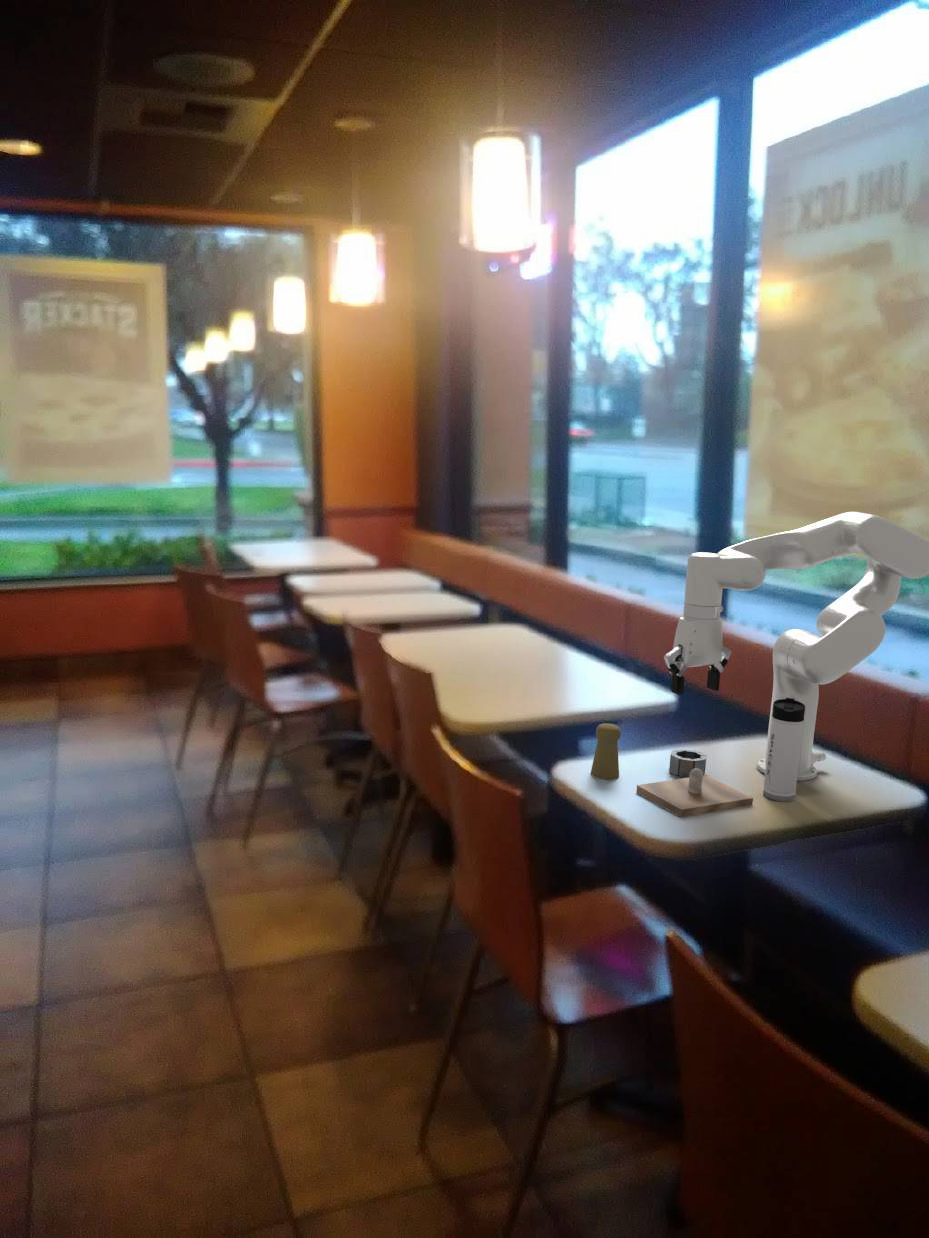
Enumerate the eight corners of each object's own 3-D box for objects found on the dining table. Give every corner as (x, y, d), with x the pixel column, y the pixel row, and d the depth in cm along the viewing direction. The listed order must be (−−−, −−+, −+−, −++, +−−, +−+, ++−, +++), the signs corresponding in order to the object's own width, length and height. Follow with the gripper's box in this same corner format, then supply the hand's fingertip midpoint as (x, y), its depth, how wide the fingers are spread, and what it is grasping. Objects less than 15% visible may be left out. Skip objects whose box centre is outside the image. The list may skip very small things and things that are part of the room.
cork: (618, 781, 213) (622, 730, 211) (589, 777, 214) (593, 727, 212) (620, 771, 219) (624, 722, 217) (591, 768, 220) (595, 719, 218)
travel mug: (795, 793, 211) (806, 699, 207) (794, 803, 205) (805, 707, 201) (763, 788, 213) (774, 695, 209) (762, 798, 207) (772, 703, 203)
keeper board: (705, 781, 215) (708, 753, 214) (752, 804, 203) (755, 774, 202) (636, 792, 207) (639, 762, 206) (681, 817, 195) (684, 785, 194)
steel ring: (689, 765, 226) (690, 747, 225) (711, 776, 219) (713, 758, 218) (662, 769, 222) (664, 751, 221) (684, 780, 216) (686, 762, 215)
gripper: (721, 606, 221) (714, 683, 224) (657, 611, 213) (651, 690, 216) (745, 613, 214) (738, 692, 218) (681, 617, 206) (674, 699, 210)
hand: (695, 691), depth 217 cm, fingers open, 9 cm apart
